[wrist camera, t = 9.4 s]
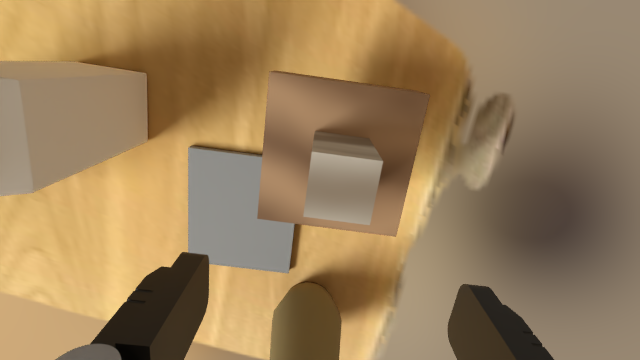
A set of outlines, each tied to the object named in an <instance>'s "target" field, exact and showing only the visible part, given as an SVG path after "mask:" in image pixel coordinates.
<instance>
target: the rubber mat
mask: <svg viewBox="0 0 640 360" xmlns="http://www.w3.org/2000/svg"><path fill="white" fill-rule="evenodd" d="M261 167H262V155H258V154H250V153H242V152H234V151H227V150H219V149H211V148H203V147H196V146H190V147H189V148H188V253H196V254H205V255H208V256H209V264H214V265H222V266H231V267H239V268H248V269H256V270H265V271H273V272H282V273H289V268H290V260H291V251H292V243H293V234H294V226H295V224H294V223H286V222H278V221H270V220H262V219H257V215H258V203H259V191H260V179H261Z"/></svg>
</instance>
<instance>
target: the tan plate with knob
mask: <svg viewBox="0 0 640 360" xmlns="http://www.w3.org/2000/svg"><path fill="white" fill-rule="evenodd" d="M429 97H430V95H429V94H425V93H422V92H419V91H414V90H407V89H400V88H393V87H386V86H379V85H372V84H365V83H358V82H351V81H344V80H337V79H330V78H324V77H317V76H310V75H303V74H296V73H289V72H282V71H271V72H269V82H268V94H267V106H266V118H265V131H264V143H263V155H262V167H261V179H260V191H259V203H258V215H257V219H262V220H270V221H278V222H286V223H294V224H301V225H309V226H317V227H325V228H332V229H340V230H348V231H356V232H363V233H371V234H379V235H387V236H395V237H396V235H397V231H398V226H399V222H400V218H401V214H402V210H403V206H404V201H405V197H406V193H407V189H408V185H409V181H410V176H411V172H412V168H413V164H414V160H415V155H416V151H417V147H418V143H419V139H420V135H421V130H422V126H423V122H424V118H425V114H426V110H427V105H428V101H429Z"/></svg>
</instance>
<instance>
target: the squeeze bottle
mask: <svg viewBox="0 0 640 360" xmlns="http://www.w3.org/2000/svg"><path fill="white" fill-rule="evenodd" d="M340 336H341V317H340V313H339V310H338V308H337V306H336V305H335V303H334V301H333V299H332V298H331V296H330V294H329V293H328V292H327V290H326V289H325V288H324V287H322V286H320V285H318V284H316V283H309V282H306V283H300V284H297V285H295V286H294V287H292V288H291V289H290V290H289V291H288V293H287V294H286V295H285V297H284V298H283V300H282V301H281V302H280V304H279V305H278V306H277V308H276V309H275V310H274V314H273V320H272V333H271V349H270V360H339V351H340Z"/></svg>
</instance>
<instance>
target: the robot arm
mask: <svg viewBox="0 0 640 360" xmlns="http://www.w3.org/2000/svg"><path fill="white" fill-rule="evenodd" d="M208 297H209V256H208V255H205V254H196V253H187V252H182V253H181V254H180V256H179V257H178V258H177V260H176V261H175V262H174V264H173V265H172V266H171V268H170V267H160V268H158V269H157V270H155V271H154V272H152V273H150V274H149V275H147V276H146V277H145V278H144V279H143V280H142V282H141V283H140V284H139V285H138V287H137V288H136V290H135V291H133V293H132V294H131V295H130V296H129V297H128V299H127V302H124V304H123V305H122V306H121V307H120V308H119V310H118V311H117V312H116V313H115V315H114V316H113V317H112V318H111V319H110V321H109V322H108V323H107V324H106V325H105V327H104V328H103V329H102V330H101V332H100V333H99V334H98V335H97V337H96V338H95V339H94V340H93V341H92V342H91V344H90V345H85V346H81V347H78V348H75V349H73V350H71V351H69V352H67V353H65V354H63V355H62V356H60V357H58V358H57V359H56V360H184V358H185V356H186V354H187V352H188V350H189V347H190V345H191V343H192V341H193V339H194V337H195V335H196V332H197V330H198V328H199V326H200V324H201V322H202V320H203V317H204V315H205V312H206V308H207V304H208ZM448 338H449V342H450V344H451V347H452V349H453V351H454V353H455V356H456V358H457V360H554V359H553V358H552V356H551V355H550V354H549V352H548V351H547V350H546V349H545V348H544V347H542V343H541V342H540V341H539V340H538V338H537V337H536V336H535V335H533V332H532V331H531V329H530V328H529V327H528V325H527V324H526V323H525V322H524V320H523V319H522V318H521V317H520V316H518V315H517V314H516V313H515V312H513V311H512V310H511V309H510V308H509V307H508V306H506V305H502V303H501V302H500V301H499V299H498V298H497V296H496V295H495V294H494V292H493V291H492V290H491V289H490V288H489V287H486V286H477V285H468V284H463V285H462V286H461V287H460V289H459V291H458V294H457V298H456V300H455V304H454V307H453V310H452V313H451V316H450V319H449V323H448Z"/></svg>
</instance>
